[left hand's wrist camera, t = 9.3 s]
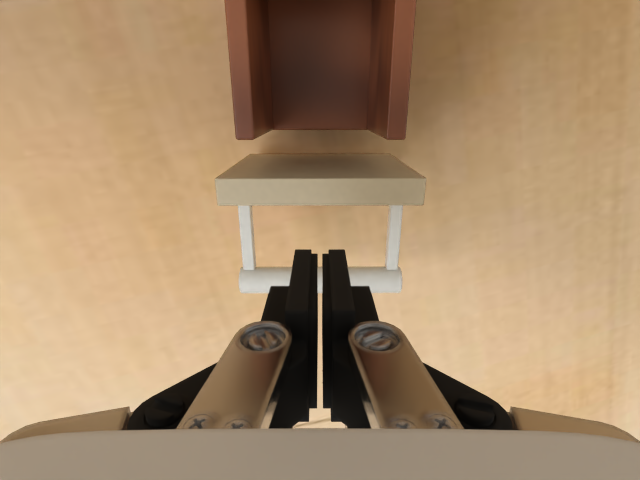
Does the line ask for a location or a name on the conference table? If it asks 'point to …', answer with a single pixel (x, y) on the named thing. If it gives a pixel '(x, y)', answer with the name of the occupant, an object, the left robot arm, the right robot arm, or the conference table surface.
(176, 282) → the conference table surface
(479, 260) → the conference table surface
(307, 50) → the drawer
